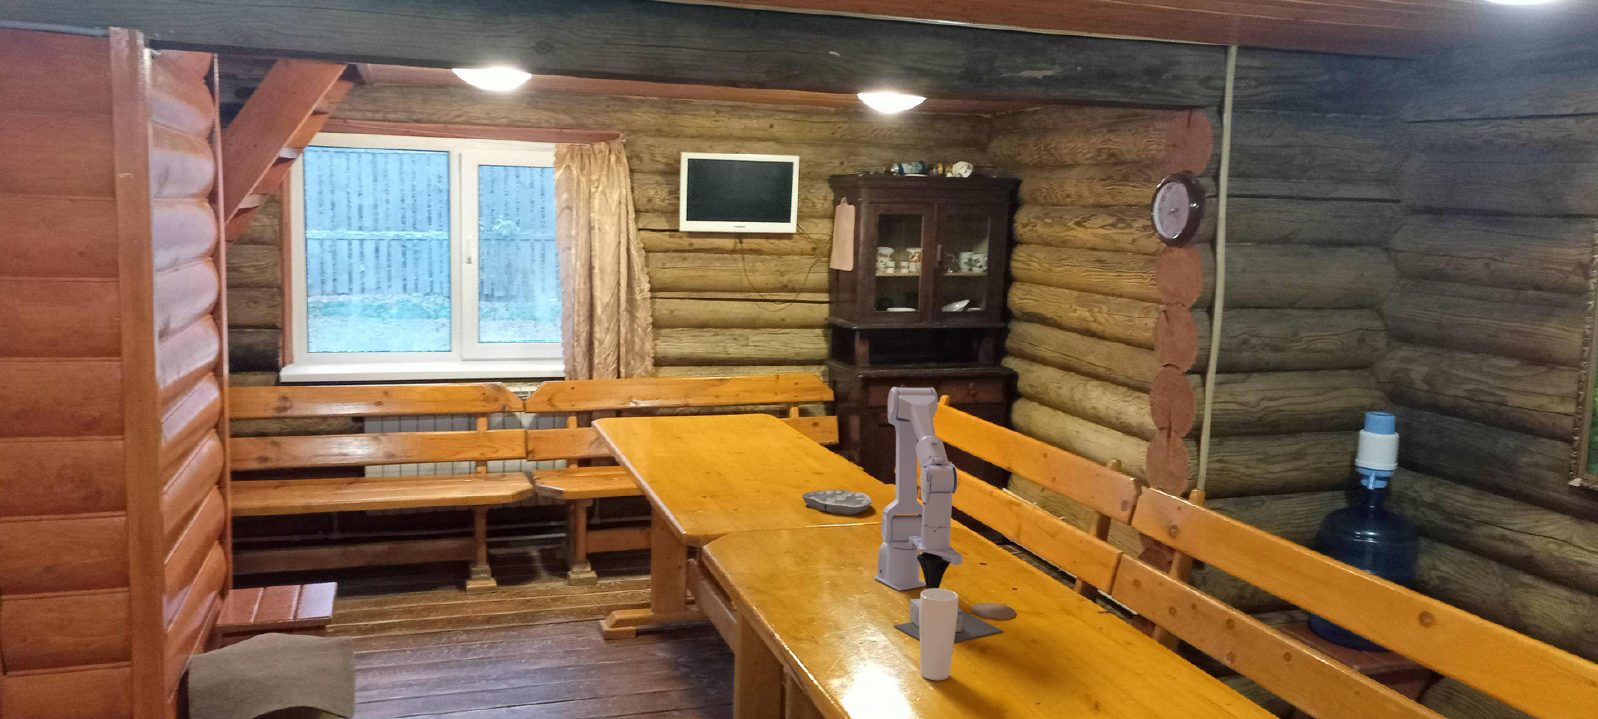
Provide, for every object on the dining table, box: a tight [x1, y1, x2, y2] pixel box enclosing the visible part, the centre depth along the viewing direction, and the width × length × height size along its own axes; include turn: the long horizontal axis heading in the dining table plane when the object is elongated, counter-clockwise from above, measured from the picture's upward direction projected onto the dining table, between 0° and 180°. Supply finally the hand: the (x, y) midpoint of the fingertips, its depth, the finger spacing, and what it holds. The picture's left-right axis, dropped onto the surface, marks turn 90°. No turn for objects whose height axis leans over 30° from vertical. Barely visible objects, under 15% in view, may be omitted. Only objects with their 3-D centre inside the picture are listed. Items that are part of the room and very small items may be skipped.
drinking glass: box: [919, 587, 959, 682], centre depth 200 cm, size 7×7×15 cm
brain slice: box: [801, 489, 873, 516], centre depth 315 cm, size 20×17×3 cm
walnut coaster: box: [971, 602, 1017, 621], centre depth 235 cm, size 9×9×1 cm
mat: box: [893, 610, 1004, 644], centre depth 224 cm, size 12×18×1 cm, turn 123°
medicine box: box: [908, 598, 963, 632], centre depth 225 cm, size 8×4×9 cm
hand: (932, 589), depth 228 cm, fingers closed
